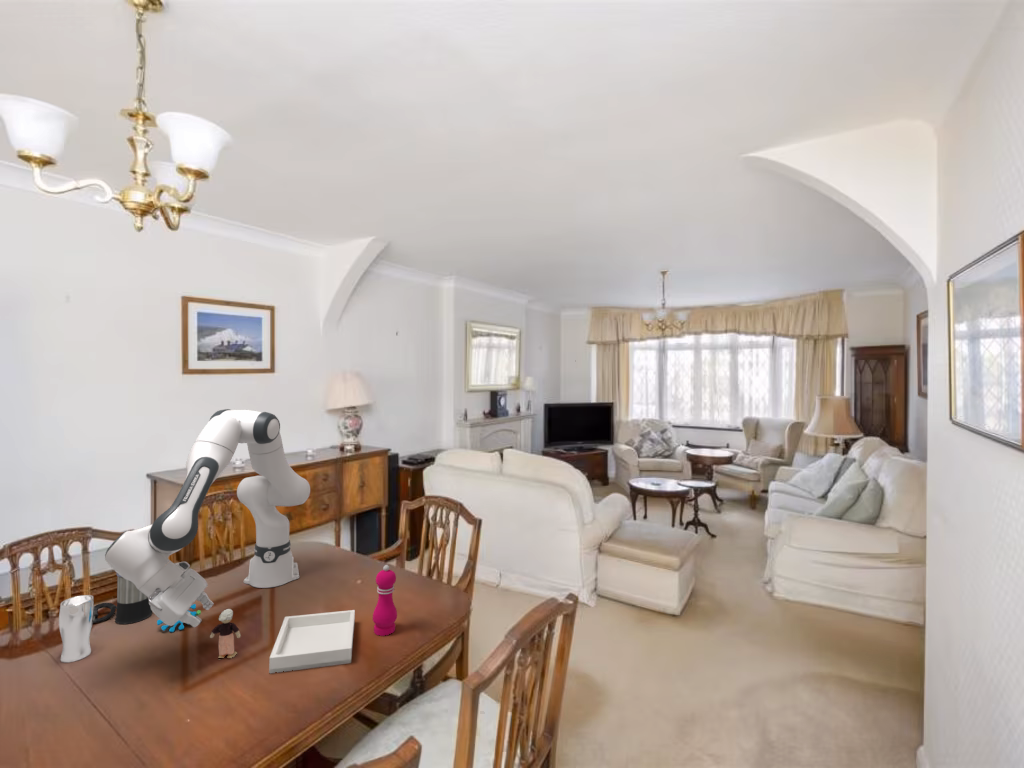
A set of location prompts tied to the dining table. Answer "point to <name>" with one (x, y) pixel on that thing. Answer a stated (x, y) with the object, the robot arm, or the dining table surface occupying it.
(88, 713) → the dining table surface
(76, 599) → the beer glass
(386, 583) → the pepper mill
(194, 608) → the gear
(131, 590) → the milk frother
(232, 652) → the grandmother figurine
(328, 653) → the tray
